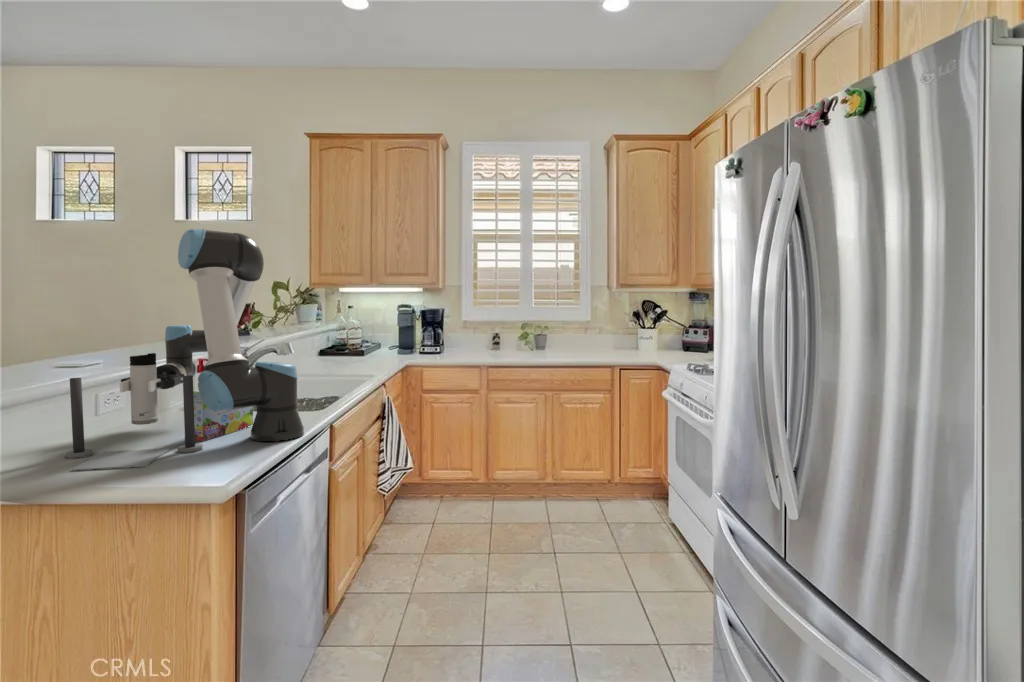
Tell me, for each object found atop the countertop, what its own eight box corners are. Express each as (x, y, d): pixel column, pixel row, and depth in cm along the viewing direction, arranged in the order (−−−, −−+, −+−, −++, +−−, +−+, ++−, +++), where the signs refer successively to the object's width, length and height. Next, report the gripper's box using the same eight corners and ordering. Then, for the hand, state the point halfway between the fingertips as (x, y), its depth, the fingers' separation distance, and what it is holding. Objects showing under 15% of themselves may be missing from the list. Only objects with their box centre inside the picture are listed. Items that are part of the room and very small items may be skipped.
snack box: (205, 442, 160) (203, 391, 159) (189, 440, 161) (187, 391, 160) (254, 426, 181) (253, 381, 180) (240, 425, 182) (239, 381, 181)
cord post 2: (207, 448, 153) (205, 374, 152) (191, 453, 147) (188, 377, 146) (189, 446, 155) (187, 374, 153) (172, 452, 149) (169, 376, 147)
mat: (169, 450, 151) (169, 448, 151) (144, 467, 135) (144, 465, 135) (104, 453, 147) (103, 451, 147) (70, 471, 131) (70, 469, 131)
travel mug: (145, 425, 150) (143, 354, 149) (125, 423, 152) (123, 353, 150) (164, 420, 156) (162, 352, 155) (145, 419, 158) (143, 351, 156)
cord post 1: (99, 453, 147) (95, 377, 146) (77, 459, 141) (73, 380, 140) (81, 451, 148) (77, 376, 147) (58, 457, 142) (54, 379, 141)
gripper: (202, 386, 173) (175, 399, 151) (134, 388, 169) (96, 401, 146) (201, 363, 173) (174, 372, 150) (133, 364, 168) (94, 374, 146)
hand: (135, 387), depth 148 cm, fingers closed on travel mug, 6 cm apart
